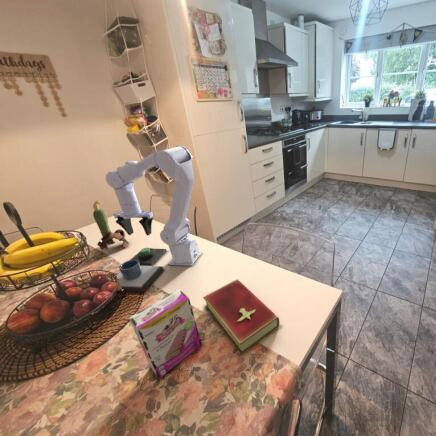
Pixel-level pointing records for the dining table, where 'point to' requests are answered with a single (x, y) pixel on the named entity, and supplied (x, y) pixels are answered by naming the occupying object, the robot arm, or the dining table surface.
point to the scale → (140, 279)
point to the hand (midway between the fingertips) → (140, 234)
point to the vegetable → (101, 219)
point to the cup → (130, 269)
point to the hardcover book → (241, 315)
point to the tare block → (149, 257)
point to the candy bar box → (167, 332)
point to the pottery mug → (109, 239)
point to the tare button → (145, 251)
